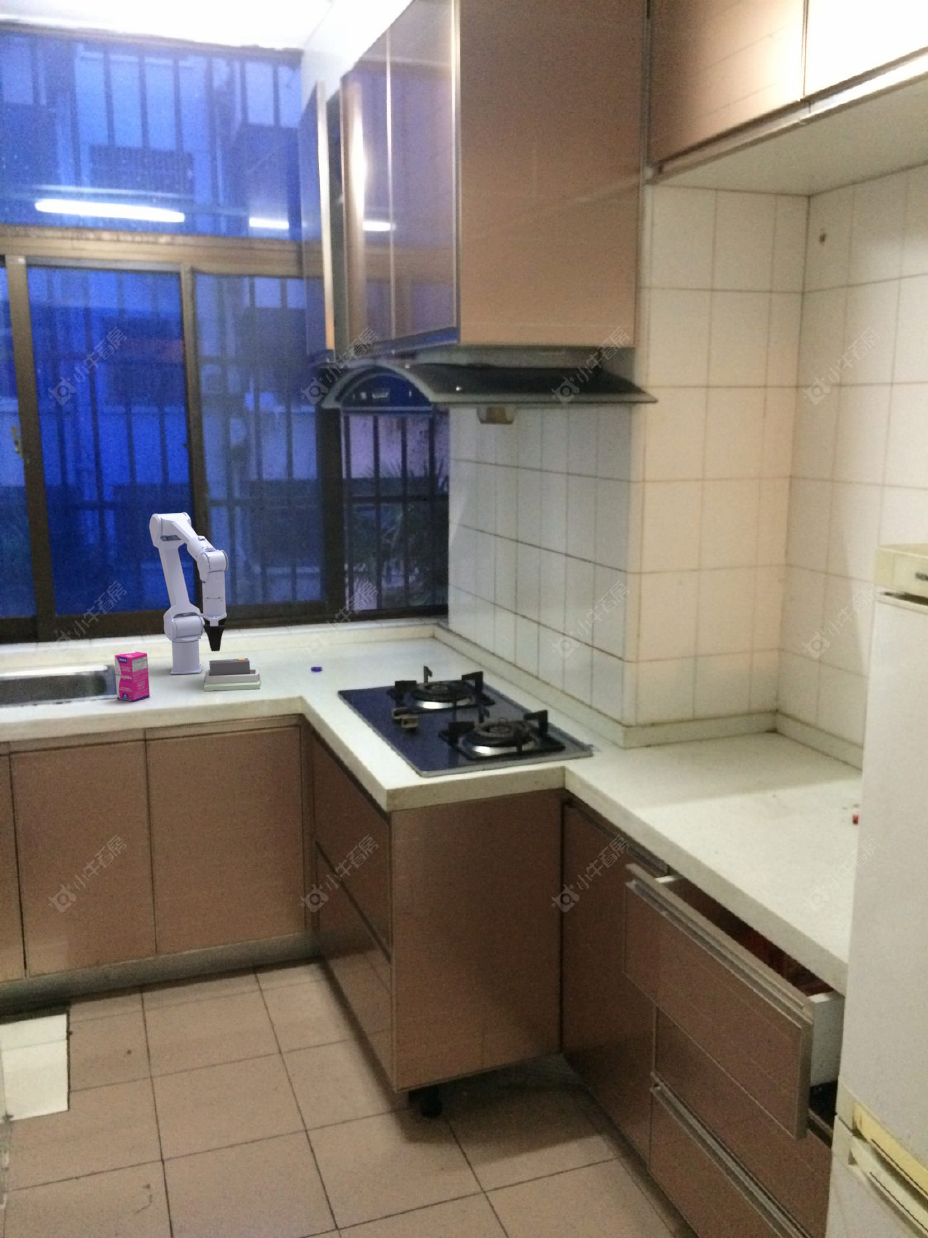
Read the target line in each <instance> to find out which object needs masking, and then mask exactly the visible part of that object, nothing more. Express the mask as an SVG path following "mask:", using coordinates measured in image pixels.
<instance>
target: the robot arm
mask: <svg viewBox="0 0 928 1238" xmlns="http://www.w3.org/2000/svg"><path fill="white" fill-rule="evenodd" d="M148 526H149V533H150V537H151V541H152V545H153V546H154V547H156V548H157V549H158V554H159V557H160V561H161V566H162V567H161V568H162V571H163V575H164V580H165V583H166V588H167V593H168V597H169V603H170V608H169V609H168V610H167V611H165V612H164V614H163V629H164V630H163V631H164V634H165V637H166V638H167V639H168V640H169V641H171V654H172V668H171V671H170V675H188V674H189V675H190V674H201V673H202V668H203V664H202V663H200V643H199V640H201V639H202V636H203V635H204V633H205V634H206V635H207V639H208V643H209V648H210V651H211V652H220V651H221V647H222V646H221V645H222V637H223V633H224V630H225V629H226V628H227V627H226V622H227V612H226V611H227V610H226V607H227V606H226V584H225V582H226V581H225V576H226V575H225V573H226V572H227V571H228V569H229V558H228V555H227V553H226V552H225V550H223V549H220V550H219V549H216V548H215V547H214V546H213V545H212V544H211V542H209V540H207V538H206V537H205V536H204V535H198V534H197V533H196V532H195V530H194V528H193V527H192V520H191V517H190V516H189V514H188V513H187V512H183V511H182V512H181V513H180V512H178V513H153V514H152V515H151V518H150V520H149V524H148ZM184 544H186V549H187V552H188V553H189V554H190V556H192V558H193V559H194V560H195V561H196V565H197V570H198V572H199V579H200V581H201V583H202V586H201V588H202V611H203V613H201V610H200V608H198V607H197V606H195V604H194V605H193V604H192V603H191V602H190V597H189V595H188V594H189V592H188V589H187V586H186V580H185V575H184V573H183V572H184V571H183V568H182V564H181V563H182V562H181V560H180V559H181V558H180V554H179V548H180V546H182V545H184Z"/></svg>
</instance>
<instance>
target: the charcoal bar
mask: <svg viewBox="0 0 928 1238" xmlns="http://www.w3.org/2000/svg"><path fill="white" fill-rule="evenodd" d="M208 662H209V670H210V676H220V675H244V674H250V667H251V665H250V659H249V658H248V657H246V658H230V659H216V660H215V659H214V660H213V659H212V660H209V661H208Z"/></svg>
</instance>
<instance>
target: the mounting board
mask: <svg viewBox="0 0 928 1238" xmlns="http://www.w3.org/2000/svg"><path fill="white" fill-rule="evenodd" d="M260 673H261V672H260V669H259V668H257V667H254V668H253V667H251V668H250V674H244V675H220V676H210V669H208V670H206V671H205V672H204V685H203V692H214V691H213V690H222V691H240V690H241V691H242V690H245V691H246V690H260V689H261V685H260V683H261V680H260V679H261V676H260Z"/></svg>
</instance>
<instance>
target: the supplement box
mask: <svg viewBox="0 0 928 1238" xmlns="http://www.w3.org/2000/svg"><path fill="white" fill-rule="evenodd" d="M113 656H114V671H115V684H116V685H115V686H116V687H115V688H116V698H117V700H122V701H128V702H132V703H135V702H138V701H141V700H144V699H148V698H150V697H151V695H150V680H149V677H150V675H149V665H148V653H146V652H140V651H134V650H129V651H128V650H127V651H125V652H122V653H118V654H115V655H113Z"/></svg>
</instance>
